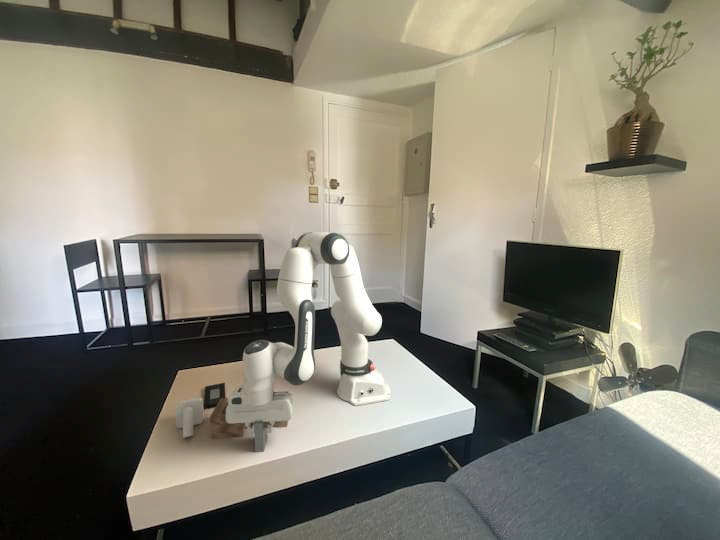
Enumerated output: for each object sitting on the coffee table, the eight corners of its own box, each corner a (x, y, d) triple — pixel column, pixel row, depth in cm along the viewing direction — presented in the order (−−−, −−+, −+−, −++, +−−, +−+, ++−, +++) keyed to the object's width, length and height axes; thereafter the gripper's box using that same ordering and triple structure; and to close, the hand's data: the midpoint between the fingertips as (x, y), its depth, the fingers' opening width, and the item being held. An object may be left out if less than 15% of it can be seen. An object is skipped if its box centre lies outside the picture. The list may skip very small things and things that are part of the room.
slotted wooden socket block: (289, 415, 110) (289, 395, 109) (285, 434, 101) (285, 413, 99) (222, 418, 108) (220, 398, 107) (211, 438, 98) (209, 416, 97)
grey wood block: (267, 437, 99) (266, 410, 97) (263, 451, 93) (262, 423, 92) (259, 438, 99) (258, 411, 97) (255, 452, 93) (253, 423, 91)
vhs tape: (225, 386, 129) (224, 382, 128) (225, 405, 116) (225, 401, 116) (205, 390, 125) (205, 386, 125) (204, 410, 113) (203, 406, 112)
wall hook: (173, 443, 95) (171, 412, 95) (178, 430, 104) (177, 401, 105) (201, 436, 98) (199, 406, 99) (204, 424, 108) (202, 396, 108)
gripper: (294, 385, 97) (295, 423, 99) (229, 388, 95) (231, 426, 97) (291, 397, 91) (292, 437, 93) (222, 400, 89) (225, 441, 91)
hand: (261, 431), depth 95 cm, fingers open, 4 cm apart
